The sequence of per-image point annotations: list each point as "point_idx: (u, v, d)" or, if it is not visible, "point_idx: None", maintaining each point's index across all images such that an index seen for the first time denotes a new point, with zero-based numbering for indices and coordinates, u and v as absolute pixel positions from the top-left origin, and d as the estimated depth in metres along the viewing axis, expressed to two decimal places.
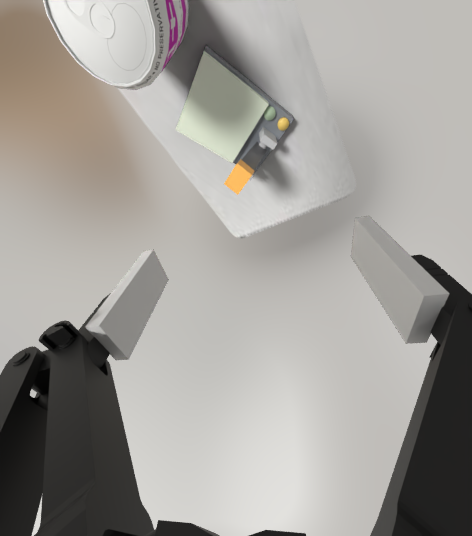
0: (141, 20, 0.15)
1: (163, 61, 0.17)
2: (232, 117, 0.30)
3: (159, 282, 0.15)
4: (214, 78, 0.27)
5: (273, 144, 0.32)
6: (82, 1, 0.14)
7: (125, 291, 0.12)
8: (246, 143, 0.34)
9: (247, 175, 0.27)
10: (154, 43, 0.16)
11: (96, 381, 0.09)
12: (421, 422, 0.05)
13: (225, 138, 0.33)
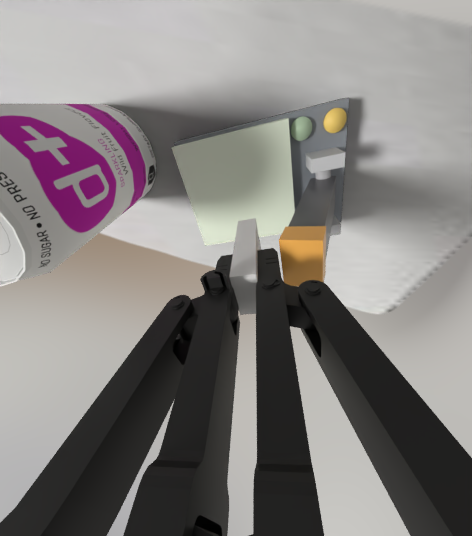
0: None
1: (40, 199, 0.10)
2: (253, 180, 0.19)
3: None
4: (201, 160, 0.19)
5: (338, 159, 0.16)
6: None
7: None
8: (298, 192, 0.20)
9: (314, 246, 0.11)
10: None
11: (228, 341, 0.09)
12: (257, 385, 0.06)
13: (263, 210, 0.21)
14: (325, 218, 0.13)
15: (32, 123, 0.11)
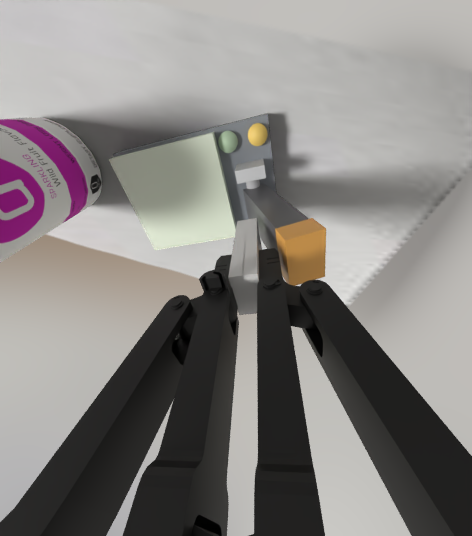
0: None
1: None
2: (189, 189, 0.20)
3: None
4: (137, 171, 0.20)
5: (259, 171, 0.18)
6: None
7: None
8: (235, 200, 0.22)
9: (318, 237, 0.11)
10: None
11: (227, 341, 0.09)
12: (258, 385, 0.06)
13: (204, 217, 0.22)
14: (300, 213, 0.13)
15: None
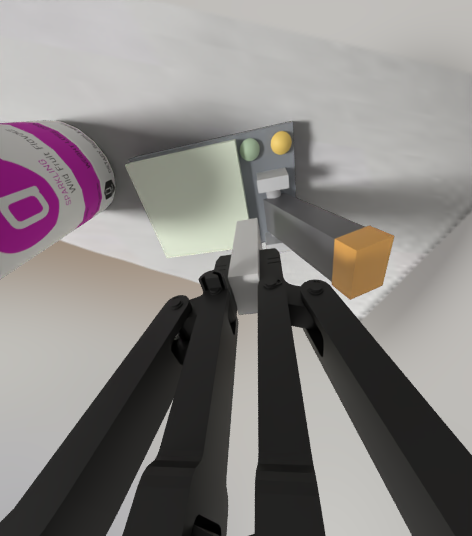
0: None
1: None
2: (206, 197, 0.20)
3: None
4: (154, 177, 0.19)
5: (282, 180, 0.17)
6: None
7: None
8: (253, 209, 0.21)
9: (386, 245, 0.11)
10: None
11: (226, 341, 0.09)
12: (258, 385, 0.06)
13: (220, 225, 0.21)
14: (350, 221, 0.13)
15: None
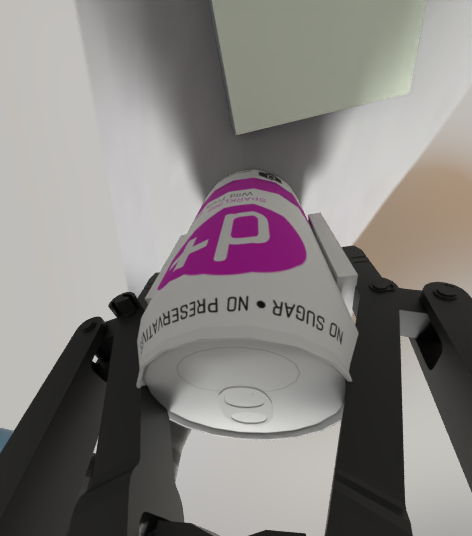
0: (181, 362, 0.06)
1: (224, 283, 0.06)
2: None
3: None
4: (253, 84, 0.12)
5: None
6: (241, 412, 0.08)
7: None
8: None
9: None
10: (192, 335, 0.06)
11: None
12: (346, 392, 0.06)
13: None
14: None
15: (173, 260, 0.10)
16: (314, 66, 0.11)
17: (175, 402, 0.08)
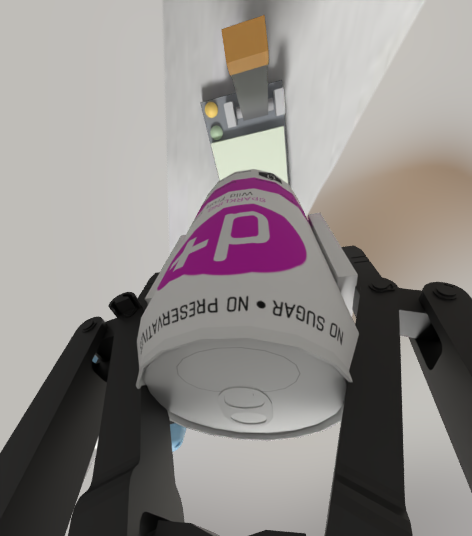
0: (180, 363, 0.06)
1: (224, 283, 0.06)
2: (244, 164, 0.30)
3: None
4: None
5: (227, 107, 0.25)
6: (241, 412, 0.08)
7: None
8: (255, 127, 0.28)
9: (227, 34, 0.16)
10: (192, 336, 0.06)
11: None
12: (346, 392, 0.06)
13: (264, 155, 0.29)
14: None
15: (173, 260, 0.10)
16: None
17: (175, 402, 0.08)
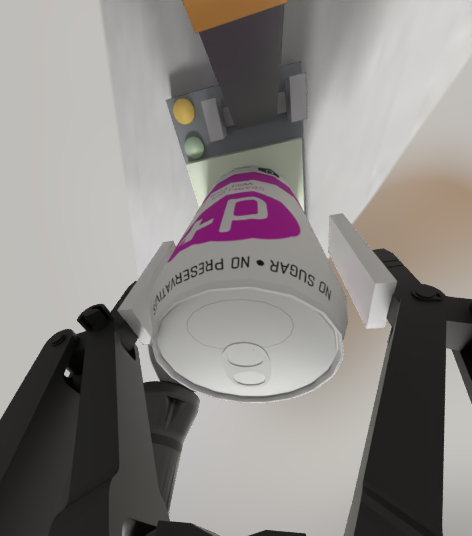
0: (190, 317, 0.07)
1: (228, 247, 0.07)
2: None
3: None
4: None
5: (207, 108, 0.15)
6: (243, 372, 0.09)
7: (151, 278, 0.12)
8: (255, 139, 0.18)
9: None
10: (201, 289, 0.07)
11: (125, 366, 0.09)
12: (379, 403, 0.05)
13: None
14: None
15: (181, 240, 0.11)
16: None
17: (183, 362, 0.09)
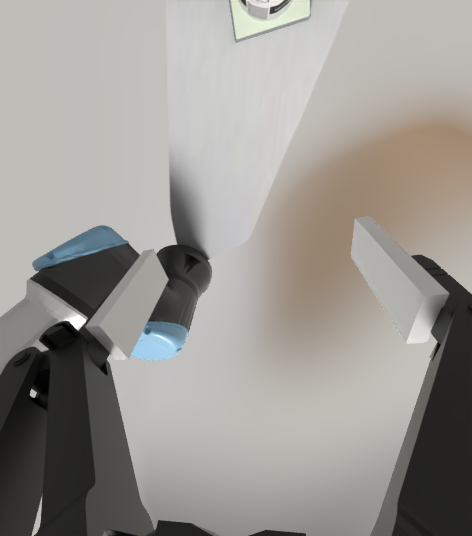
0: None
1: None
2: None
3: (159, 282, 0.15)
4: (243, 10, 0.28)
5: None
6: None
7: (125, 291, 0.12)
8: None
9: None
10: None
11: (96, 381, 0.09)
12: (421, 422, 0.05)
13: None
14: None
15: None
16: None
17: None
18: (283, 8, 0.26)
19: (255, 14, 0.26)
